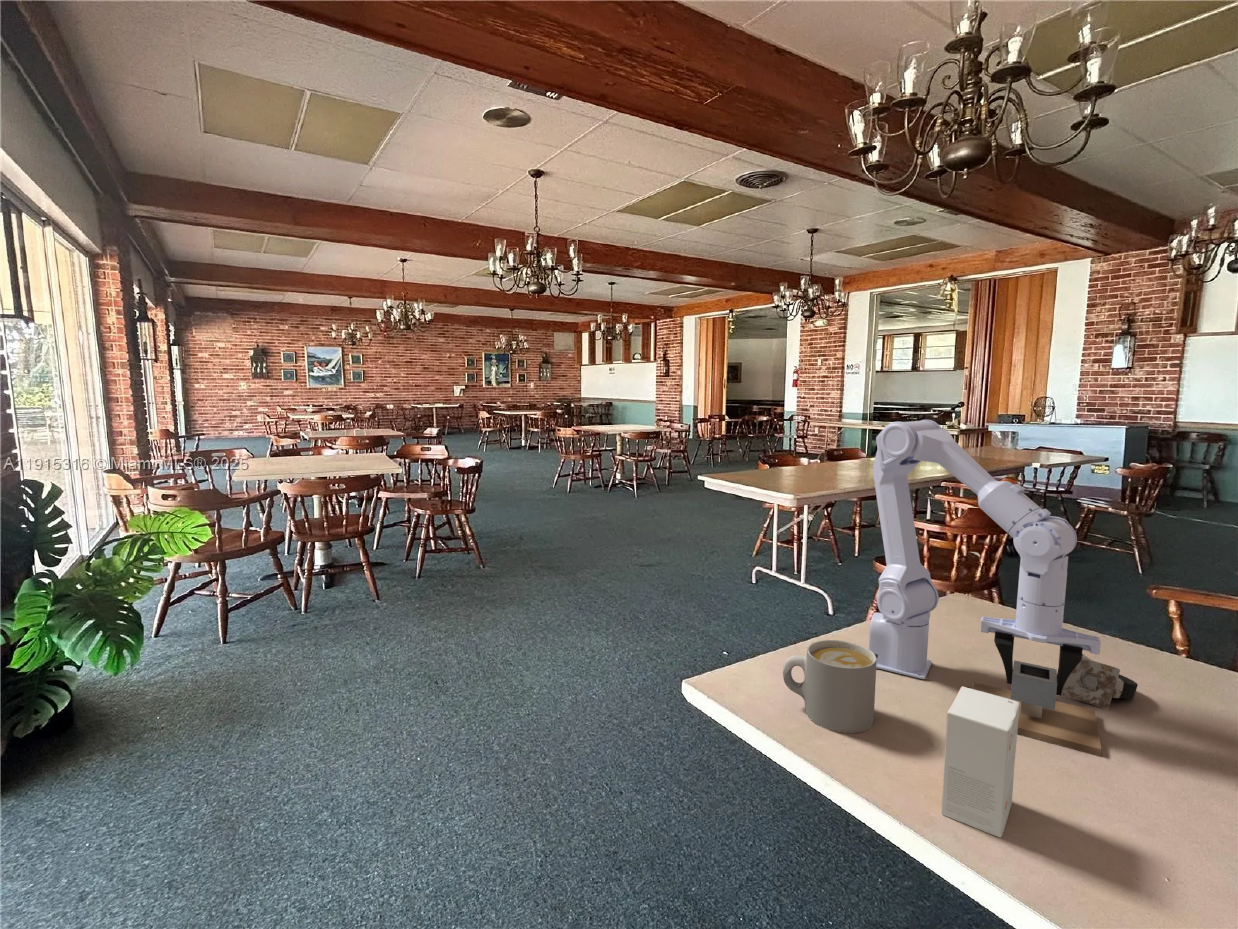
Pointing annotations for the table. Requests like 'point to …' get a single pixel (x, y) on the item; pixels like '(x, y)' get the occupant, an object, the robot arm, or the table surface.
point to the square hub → (1034, 684)
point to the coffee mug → (836, 684)
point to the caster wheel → (1098, 684)
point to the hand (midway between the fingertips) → (1033, 686)
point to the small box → (980, 760)
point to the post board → (1054, 722)
